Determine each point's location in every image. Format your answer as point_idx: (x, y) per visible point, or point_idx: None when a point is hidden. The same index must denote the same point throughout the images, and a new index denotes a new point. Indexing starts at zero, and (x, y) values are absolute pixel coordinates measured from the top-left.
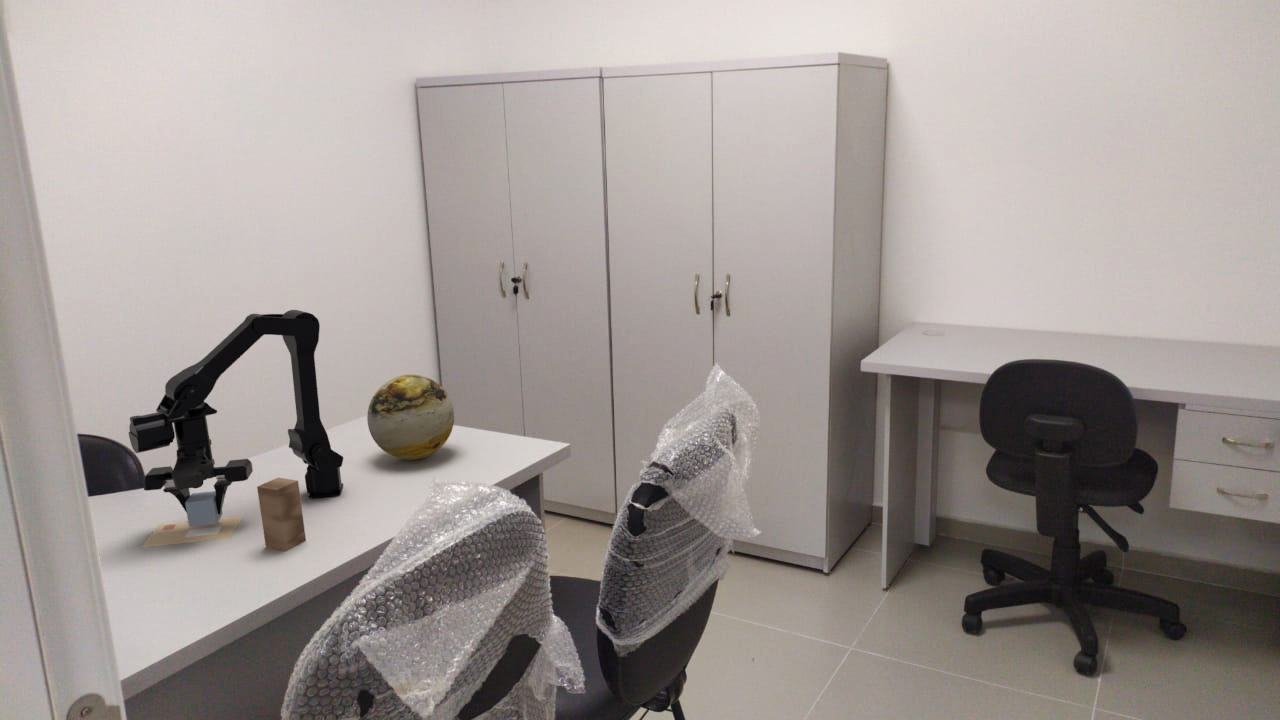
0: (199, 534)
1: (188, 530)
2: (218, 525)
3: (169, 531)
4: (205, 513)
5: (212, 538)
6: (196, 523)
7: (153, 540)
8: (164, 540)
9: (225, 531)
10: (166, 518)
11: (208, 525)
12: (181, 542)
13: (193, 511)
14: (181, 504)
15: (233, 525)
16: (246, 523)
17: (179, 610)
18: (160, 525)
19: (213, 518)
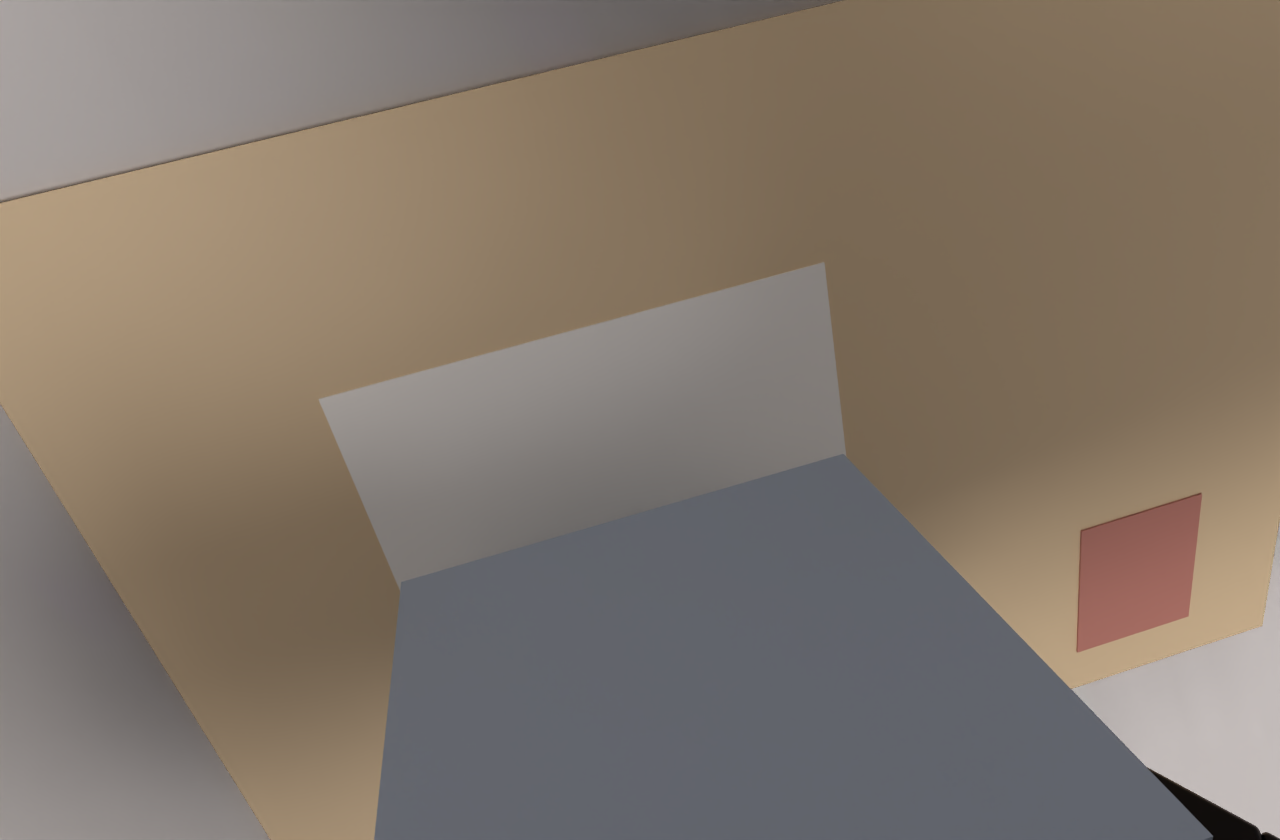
0: (625, 363)
1: None
2: None
3: (1102, 463)
4: (582, 688)
5: (283, 200)
6: (735, 511)
7: (1244, 162)
8: (1091, 154)
9: (230, 484)
10: (1212, 770)
11: None
12: (789, 40)
13: (857, 668)
14: (1240, 821)
15: (254, 685)
16: (103, 769)
17: None
18: (1241, 613)
19: (431, 641)
